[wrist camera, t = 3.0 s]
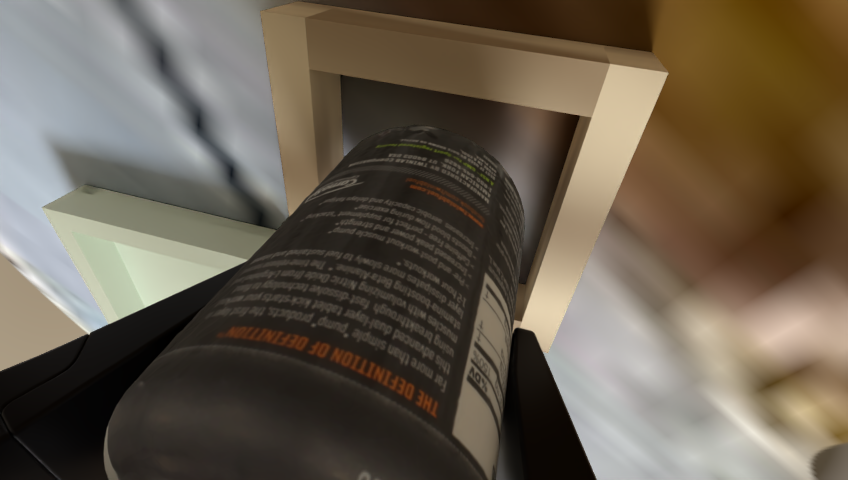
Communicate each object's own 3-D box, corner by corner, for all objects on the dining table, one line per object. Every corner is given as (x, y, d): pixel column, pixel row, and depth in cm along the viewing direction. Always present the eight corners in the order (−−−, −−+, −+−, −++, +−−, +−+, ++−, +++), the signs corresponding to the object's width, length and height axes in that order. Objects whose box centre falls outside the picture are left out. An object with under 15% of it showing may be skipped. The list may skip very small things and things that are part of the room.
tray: (317, 382, 25) (300, 414, 23) (157, 335, 26) (130, 361, 25) (298, 235, 18) (271, 265, 16) (84, 184, 20) (41, 207, 18)
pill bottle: (308, 209, 14) (-124, 679, 5) (409, 71, 10) (-409, 817, 2) (441, 311, 15) (277, 833, 6) (572, 220, 12) (610, 1105, 3)
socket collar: (548, 314, 17) (548, 352, 15) (321, 258, 18) (299, 288, 17) (652, 52, 11) (668, 72, 9) (298, 1, 12) (260, 11, 11)
